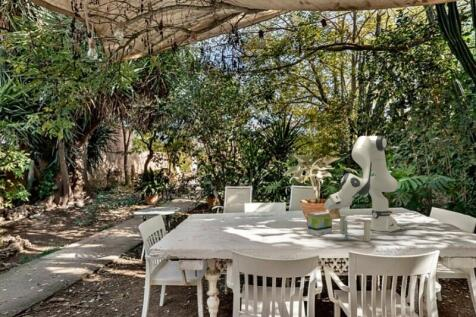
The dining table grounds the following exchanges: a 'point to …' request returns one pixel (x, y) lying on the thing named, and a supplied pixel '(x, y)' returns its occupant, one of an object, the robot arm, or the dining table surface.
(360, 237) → the threshold
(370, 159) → the robot arm
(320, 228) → the tea box
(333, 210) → the doorstop
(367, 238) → the jamb
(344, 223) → the door
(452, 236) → the dining table surface
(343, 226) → the hinge wall
